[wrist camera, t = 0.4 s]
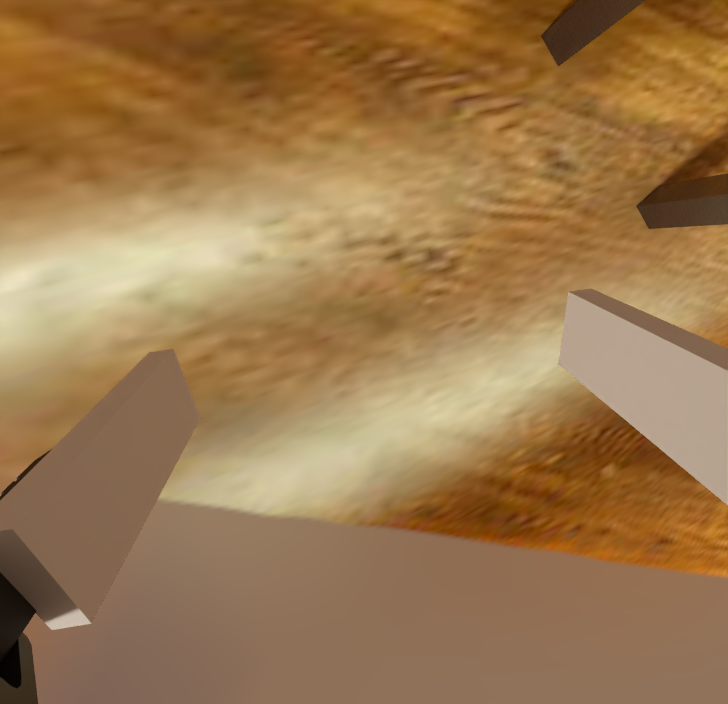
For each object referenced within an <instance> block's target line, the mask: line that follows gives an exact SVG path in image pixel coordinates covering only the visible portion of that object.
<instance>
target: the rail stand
mask: <svg viewBox="0 0 728 704" xmlns="http://www.w3.org/2000/svg"><path fill="white" fill-rule="evenodd" d="M644 1H645V0H578V1H577V2H576V3H575V4H574V5H573V6H572V7H571V8H570V9H569V10H568V11H567V12H566V13H565V14H564V15H563V16H562V17H560V18H559V19H558V20H557V21H556V22H555V23H554V24H553V25H552V26H551V27H550V28H549V29H548V30H547V31H546V32H545V33H544V34H543V35H542V38H543V40H544V42H545V43H546V45H547V47H548V49H549V51H550V52H551V54H552V56H553V58H554V59H555V61H556V63H557V65H558V66H560V65H561V64H562V63H564V62H565V61H566V60H567V59H569V58H570V57H571V56H573V55H574V54H575V53H577V52H578V51H579V50H581V49H582V48H583V47H585V46H586V45H587V44H589V43H590V42H591V41H593V40H594V39H595V38H597V37H598V36H599V35H600V34H602V33H603V32H604V31H606V30H607V29H608V28H610V27H611V26H612V25H614V24H615V23H616V22H618V21H619V20H620V19H622V18H623V17H624V16H626V15H627V14H628V13H629V12H631V11H632V10H633V9H635V8H636V7H637V6H639V5H640V4H641V3H643V2H644ZM637 208H638V210H639V212H640V213H641V215H642V217H643V219H644V220H645V222H646V224H647V226H648V228H649V229H654V228H671V227H687V226H704V225H721V224H728V173H727V174H722V175H716V176H711V177H705V178H700V179H694V180H689V181H683V182H678V183H672V184H667V185H662V186H659V187H658V188H657V189H656V190H655V191H653V192H652V193H651V194H650V195H649V196H648V197H647V198H645V199H644V200H643V201H642V202H641V203H640V204H638V205H637Z"/></svg>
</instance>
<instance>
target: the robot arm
mask: <svg viewBox="0 0 728 704" xmlns="http://www.w3.org/2000/svg"><path fill="white" fill-rule="evenodd" d="M558 364H559V365H560V366H561V367H562V368H564V369H565V370H566V371H567V372H568V373H570V374H571V375H572V376H573V377H574V378H576V379H577V380H578V381H579V382H580V383H582V384H583V385H584V386H585V387H586V388H588V389H589V390H590V391H591V392H592V393H594V394H595V395H596V396H597V397H598V398H600V399H601V400H602V401H603V402H604V403H606V404H607V405H608V406H609V407H610V408H612V409H613V410H614V411H615V412H616V413H618V414H619V415H620V416H621V417H622V418H624V419H625V420H626V421H627V422H628V423H630V424H631V425H632V426H633V427H634V428H636V429H637V430H638V431H639V432H640V433H642V434H643V435H644V436H645V437H646V438H648V439H649V440H650V441H651V442H652V443H654V444H655V445H656V446H657V447H658V448H660V449H661V450H662V451H663V452H664V453H666V454H667V455H668V456H669V457H670V458H672V459H673V460H674V461H675V462H676V463H678V464H679V465H680V466H681V467H682V468H684V469H685V470H686V471H687V472H688V473H690V474H691V475H692V476H693V477H694V478H696V479H697V480H698V481H699V482H700V483H702V484H703V485H704V486H705V487H706V488H708V489H709V490H710V491H711V492H712V493H714V494H715V495H716V496H717V497H718V498H720V499H721V500H722V501H723V502H724V503H726V504H727V505H728V349H727V348H725V347H722V346H720V345H718V344H716V343H713V342H711V341H709V340H706V339H704V338H702V337H700V336H697V335H695V334H693V333H691V332H688V331H686V330H684V329H682V328H679V327H677V326H675V325H672V324H670V323H668V322H666V321H663V320H661V319H659V318H657V317H654V316H652V315H650V314H647V313H645V312H643V311H641V310H638V309H636V308H634V307H632V306H629V305H627V304H625V303H623V302H620V301H618V300H616V299H613V298H611V297H609V296H607V295H604V294H602V293H600V292H598V291H595V290H593V289H585V290H578V291H571V292H568V299H567V306H566V313H565V321H564V328H563V335H562V342H561V349H560V356H559V363H558ZM200 418H201V417H200V415H199V412H198V410H197V407H196V405H195V402H194V400H193V397H192V395H191V392H190V390H189V387H188V385H187V382H186V380H185V377H184V375H183V372H182V370H181V367H180V365H179V362H178V360H177V357H176V355H175V352H174V350H173V349H170V350H163V351H156V352H149V353H148V354H147V355H146V356H145V357H144V358H143V359H142V360H141V361H140V362H139V363H138V364H137V365H136V366H135V367H134V368H133V369H132V370H131V371H130V372H129V373H128V374H127V375H126V376H125V377H124V378H123V379H122V380H121V381H120V382H119V383H118V384H117V385H116V386H115V387H114V388H113V389H112V390H111V391H110V392H109V393H108V394H107V395H106V396H105V397H104V398H103V399H102V400H101V401H100V402H99V403H98V404H97V405H96V406H95V407H94V408H93V409H92V410H91V411H90V412H89V413H88V414H87V415H86V416H85V417H84V418H83V419H82V420H81V421H80V422H79V423H78V424H77V425H76V426H75V427H74V428H73V429H72V430H71V431H70V432H69V433H68V434H67V435H66V436H65V437H64V438H63V439H62V440H61V441H60V442H59V443H58V444H57V445H56V446H55V447H54V448H53V449H51V450H50V451H48V452H47V453H45V454H44V455H42V456H41V457H39V458H38V459H36V460H35V461H34V462H33V463H32V464H31V465H30V466H29V467H28V468H27V469H26V470H25V471H24V472H22V473H21V474H20V475H19V476H18V477H17V481H14V482H12V483H11V484H10V485H9V486H8V487H7V488H6V489H5V490H4V491H3V492H2V496H1V497H0V704H38V699H37V690H36V681H35V673H34V664H33V655H32V646H31V643H30V641H29V639H28V637H27V636H26V635H25V634H24V633H23V630H24V629H25V627H26V626H27V624H28V623H29V621H30V620H31V618H32V617H33V615H34V614H35V613H36V614H37V615H38V616H39V617H40V618H41V619H42V620H43V621H44V622H45V623H46V624H47V625H48V626H49V627H50V629H51V630H54V629H60V628H67V627H73V626H79V625H85V624H91V623H92V622H93V620H94V618H95V616H96V614H97V612H98V610H99V608H100V606H101V605H102V603H103V601H104V599H105V597H106V595H107V593H108V591H109V590H110V587H111V586H112V584H113V582H114V580H115V578H116V576H117V574H118V573H119V571H120V569H121V567H122V565H123V563H124V561H125V559H126V557H127V556H128V554H129V552H130V550H131V548H132V546H133V544H134V542H135V540H136V538H137V536H138V535H139V533H140V531H141V529H142V527H143V525H144V523H145V522H146V520H147V518H148V516H149V514H150V512H151V510H152V508H153V506H154V505H155V503H156V501H157V499H158V497H159V495H160V493H161V491H162V489H163V488H164V486H165V484H166V482H167V480H168V478H169V476H170V474H171V472H172V471H173V469H174V467H175V465H176V463H177V461H178V459H179V457H180V455H181V454H182V452H183V450H184V448H185V446H186V444H187V442H188V440H189V438H190V437H191V435H192V433H193V431H194V429H195V427H196V425H197V423H198V421H199V420H200Z"/></svg>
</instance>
